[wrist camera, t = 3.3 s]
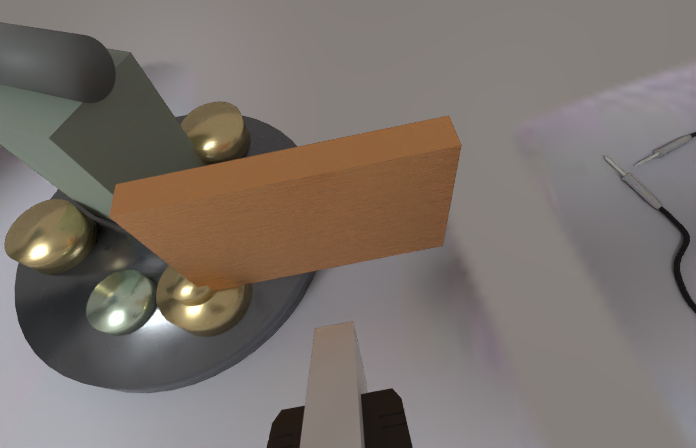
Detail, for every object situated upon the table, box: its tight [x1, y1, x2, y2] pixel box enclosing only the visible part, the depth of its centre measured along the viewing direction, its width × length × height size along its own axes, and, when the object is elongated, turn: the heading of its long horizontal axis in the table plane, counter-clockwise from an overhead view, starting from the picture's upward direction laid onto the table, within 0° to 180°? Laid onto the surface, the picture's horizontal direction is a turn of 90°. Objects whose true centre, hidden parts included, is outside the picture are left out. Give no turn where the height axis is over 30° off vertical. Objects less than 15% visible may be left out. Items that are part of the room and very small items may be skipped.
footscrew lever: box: [109, 116, 461, 337], centre depth 17 cm, size 15×4×10 cm, turn 99°
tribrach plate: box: [5, 102, 315, 393], centre depth 25 cm, size 20×20×4 cm
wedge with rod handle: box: [0, 22, 205, 220], centre depth 22 cm, size 8×6×12 cm
